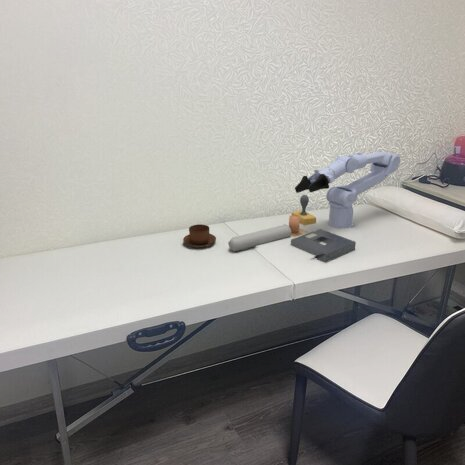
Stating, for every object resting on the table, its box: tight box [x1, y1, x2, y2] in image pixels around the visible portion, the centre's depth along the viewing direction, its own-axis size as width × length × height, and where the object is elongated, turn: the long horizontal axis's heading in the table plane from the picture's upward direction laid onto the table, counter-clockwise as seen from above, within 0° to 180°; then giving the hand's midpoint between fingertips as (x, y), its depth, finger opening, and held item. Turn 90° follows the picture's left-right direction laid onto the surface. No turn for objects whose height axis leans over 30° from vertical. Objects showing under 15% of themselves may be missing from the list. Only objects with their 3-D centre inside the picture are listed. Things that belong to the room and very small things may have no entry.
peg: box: [288, 215, 301, 233], centre depth 166 cm, size 4×4×6 cm
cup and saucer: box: [182, 224, 217, 248], centre depth 159 cm, size 12×12×6 cm
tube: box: [227, 223, 292, 252], centre depth 158 cm, size 5×5×25 cm
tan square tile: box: [290, 228, 309, 238], centre depth 167 cm, size 8×8×1 cm
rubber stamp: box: [290, 194, 317, 226], centre depth 177 cm, size 10×6×12 cm, turn 26°
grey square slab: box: [290, 228, 357, 263], centre depth 154 cm, size 16×16×3 cm
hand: (302, 190), depth 156 cm, fingers open, 7 cm apart
